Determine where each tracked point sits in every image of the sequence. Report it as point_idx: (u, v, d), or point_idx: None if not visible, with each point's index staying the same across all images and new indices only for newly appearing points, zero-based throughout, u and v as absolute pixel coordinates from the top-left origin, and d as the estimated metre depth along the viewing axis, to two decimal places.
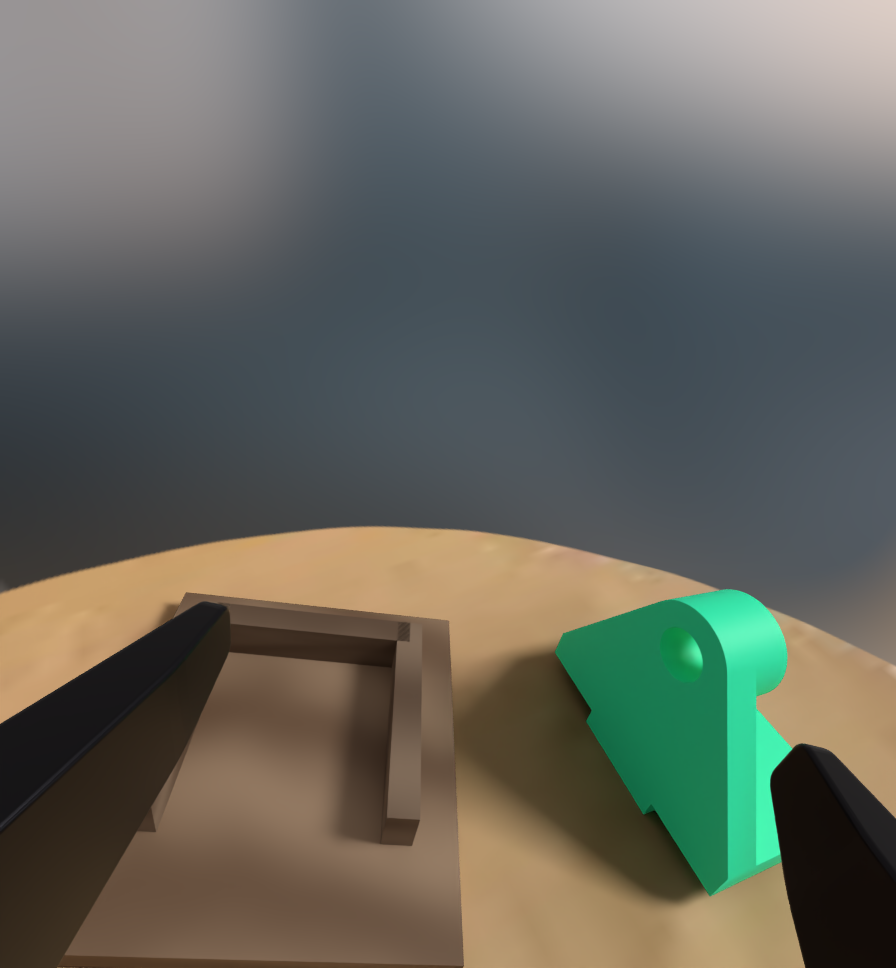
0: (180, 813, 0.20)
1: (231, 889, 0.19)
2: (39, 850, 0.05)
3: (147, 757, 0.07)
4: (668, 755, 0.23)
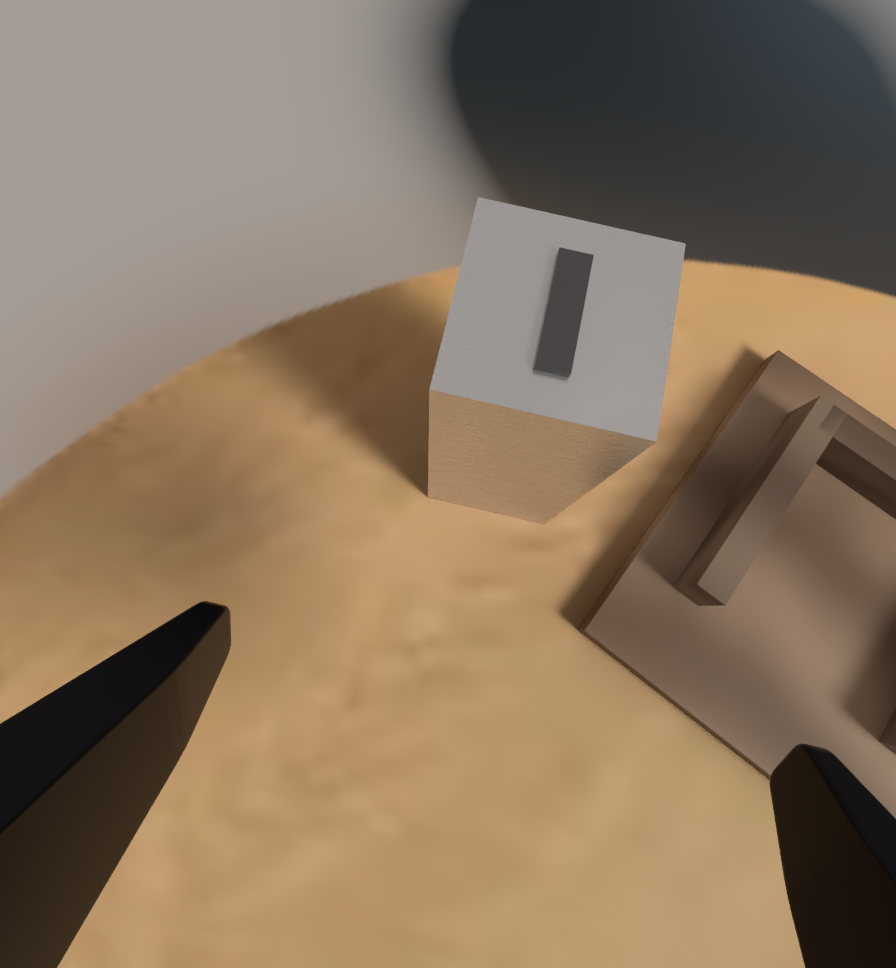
0: None
1: (743, 692, 0.21)
2: (39, 850, 0.05)
3: (147, 757, 0.07)
4: None
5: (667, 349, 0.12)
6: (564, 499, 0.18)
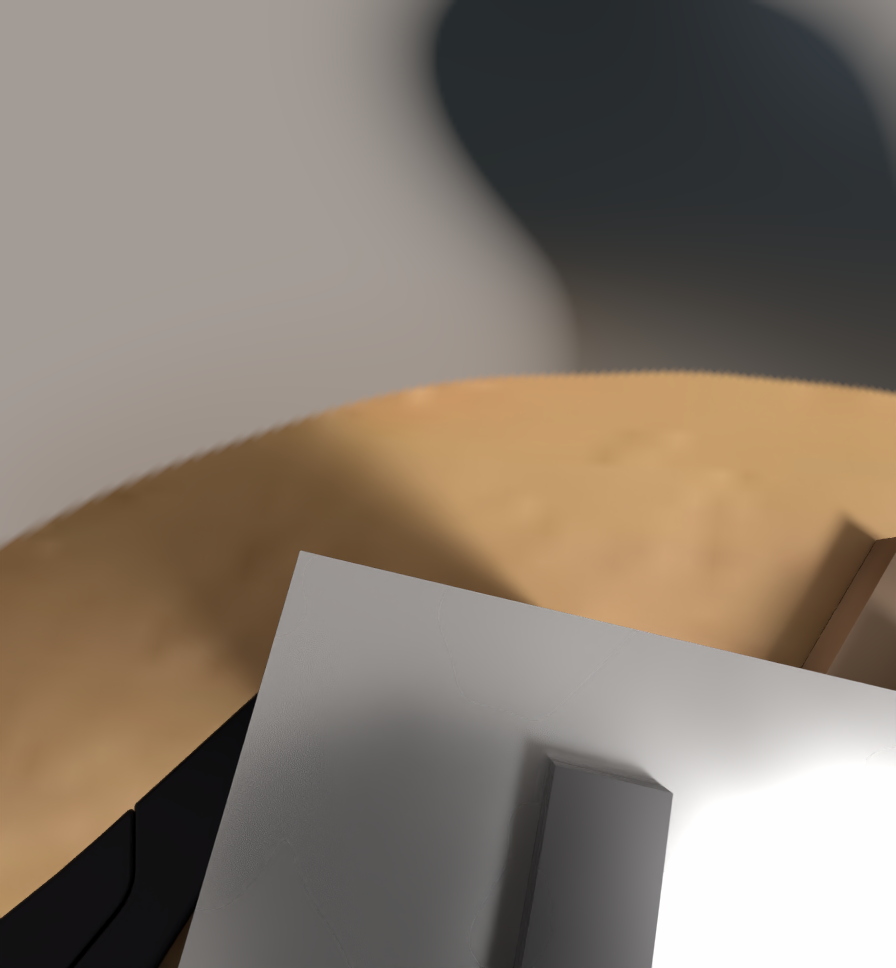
0: None
1: None
2: None
3: None
4: None
5: None
6: None
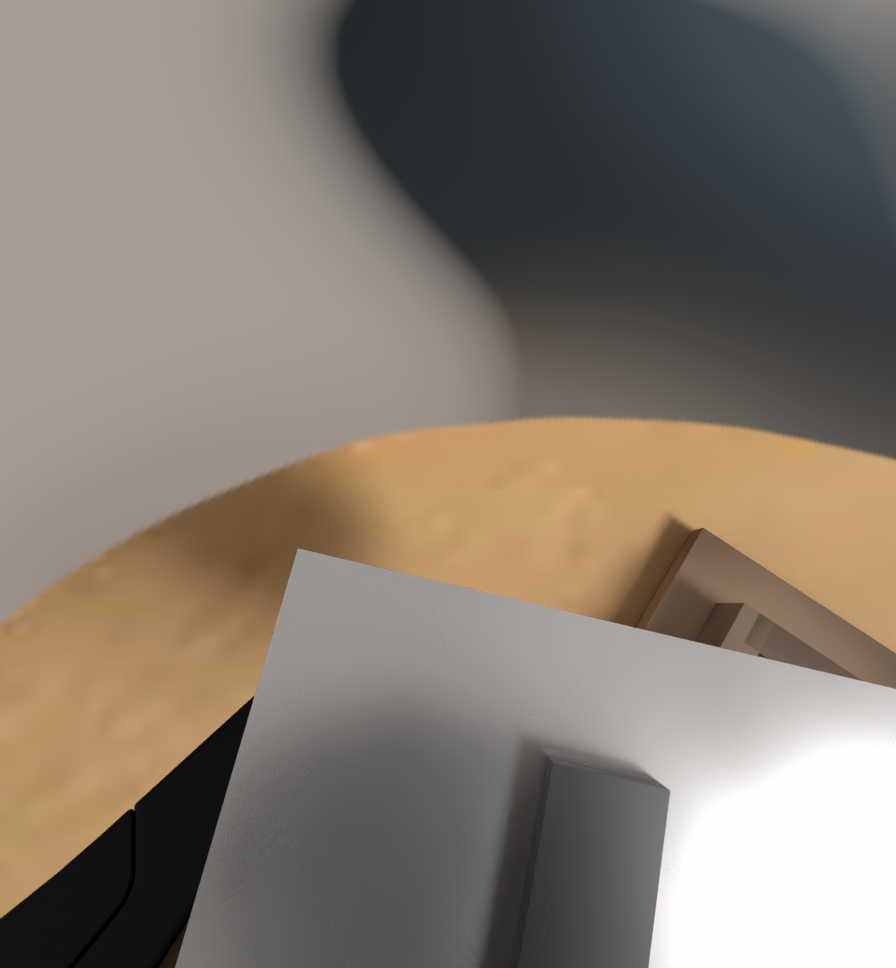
0: None
1: None
2: None
3: None
4: None
5: None
6: None
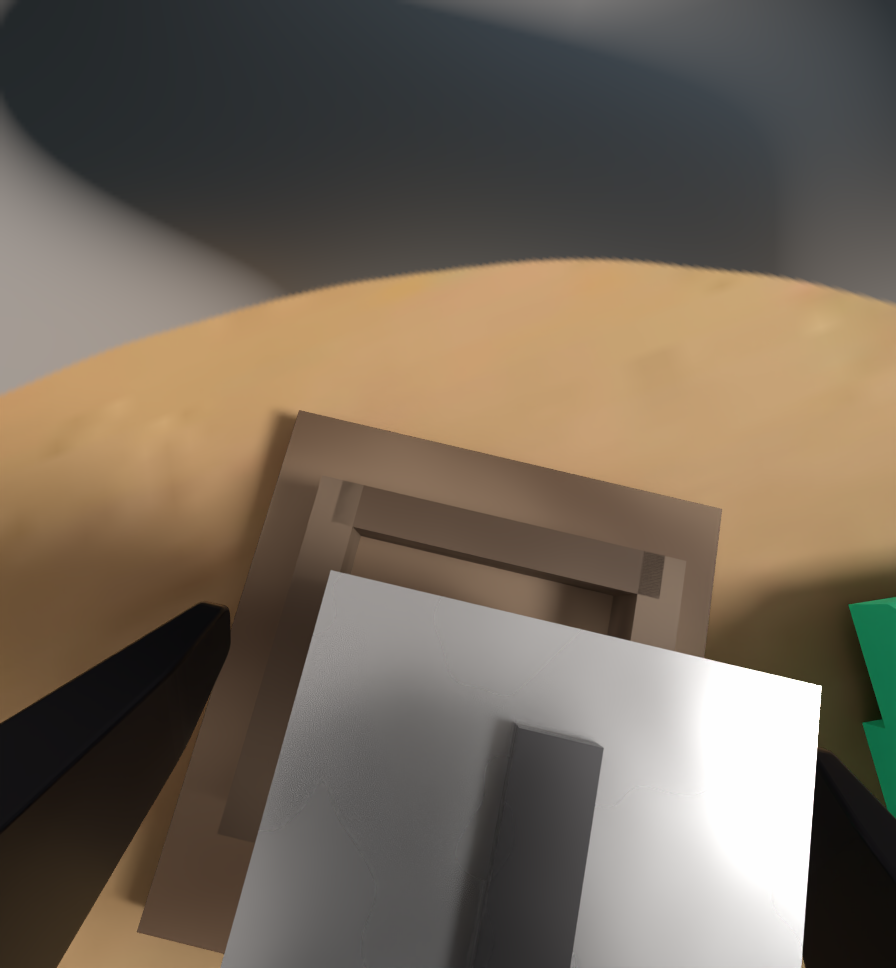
0: None
1: None
2: (39, 850, 0.05)
3: (147, 757, 0.07)
4: None
5: None
6: None
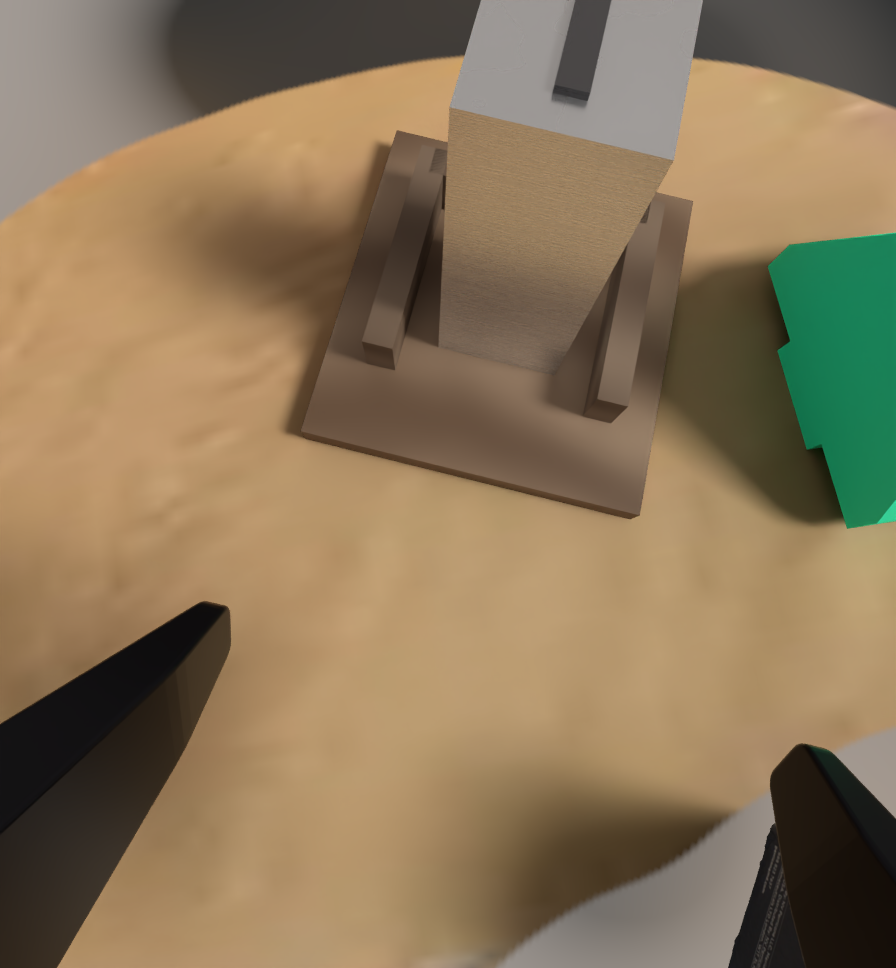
0: (413, 359, 0.23)
1: (457, 424, 0.23)
2: (39, 850, 0.05)
3: (147, 757, 0.07)
4: (870, 407, 0.20)
5: (685, 79, 0.12)
6: (576, 314, 0.18)
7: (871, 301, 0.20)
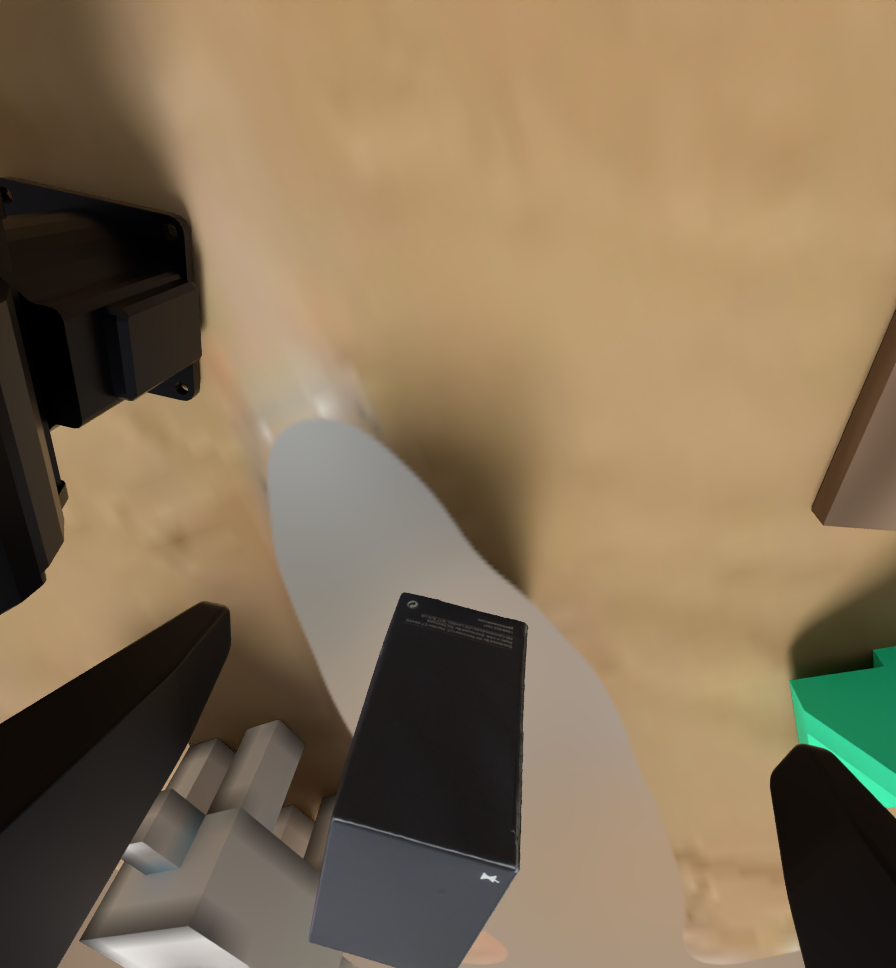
0: None
1: None
2: (39, 850, 0.05)
3: (147, 757, 0.07)
4: None
5: None
6: None
7: None
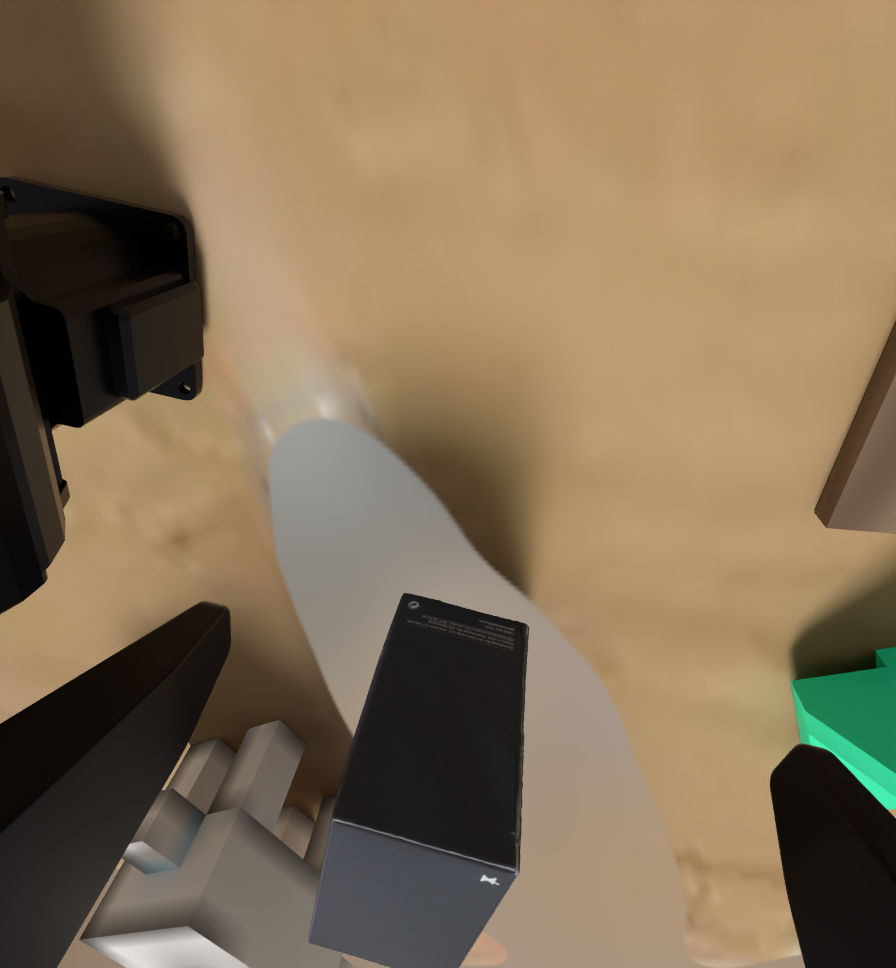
0: None
1: None
2: (39, 850, 0.05)
3: (147, 757, 0.07)
4: None
5: None
6: None
7: None
